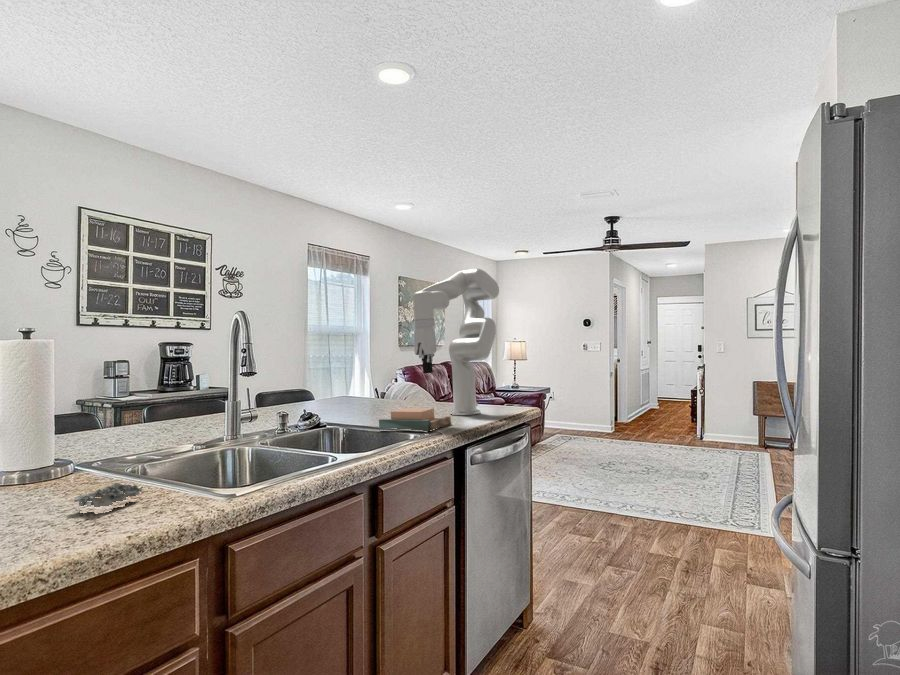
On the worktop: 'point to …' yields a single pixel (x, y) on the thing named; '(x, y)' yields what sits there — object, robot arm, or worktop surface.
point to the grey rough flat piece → (108, 495)
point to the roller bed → (415, 423)
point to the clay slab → (413, 413)
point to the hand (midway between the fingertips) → (427, 372)
